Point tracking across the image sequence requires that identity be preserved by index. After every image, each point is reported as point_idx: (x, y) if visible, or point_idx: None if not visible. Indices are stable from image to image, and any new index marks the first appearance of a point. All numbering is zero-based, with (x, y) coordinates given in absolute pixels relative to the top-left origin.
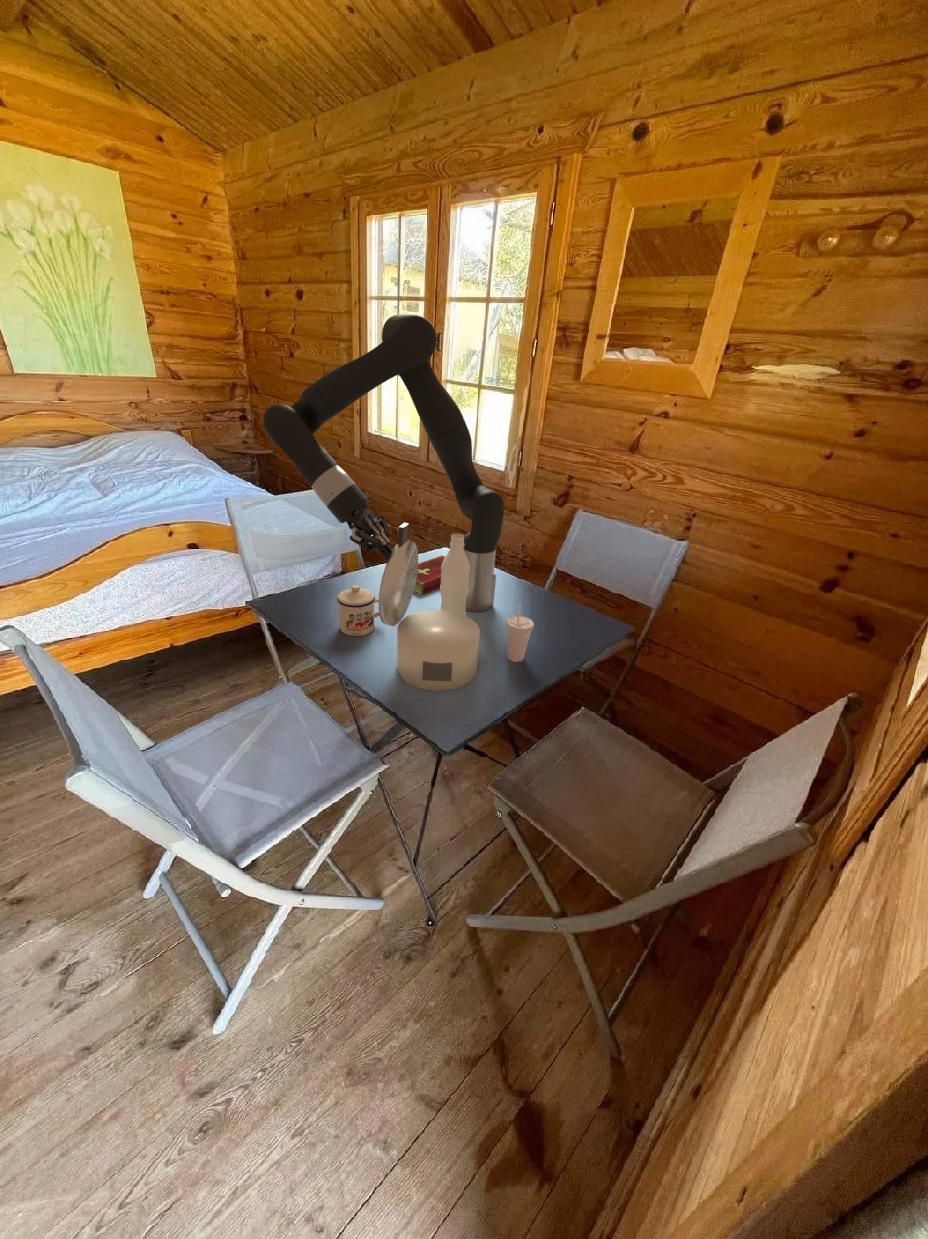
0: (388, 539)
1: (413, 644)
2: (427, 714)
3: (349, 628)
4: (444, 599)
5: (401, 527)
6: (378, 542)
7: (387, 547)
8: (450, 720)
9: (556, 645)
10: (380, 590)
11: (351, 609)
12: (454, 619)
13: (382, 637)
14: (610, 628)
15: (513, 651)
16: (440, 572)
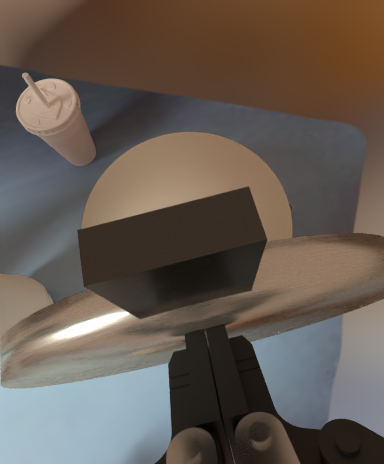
0: (184, 444)
1: (287, 230)
2: (325, 189)
3: None
4: (4, 319)
5: (254, 212)
6: (356, 435)
7: (243, 398)
8: (312, 153)
9: (5, 116)
10: None
11: None
12: (118, 218)
13: (157, 433)
14: None
15: (90, 139)
16: None
